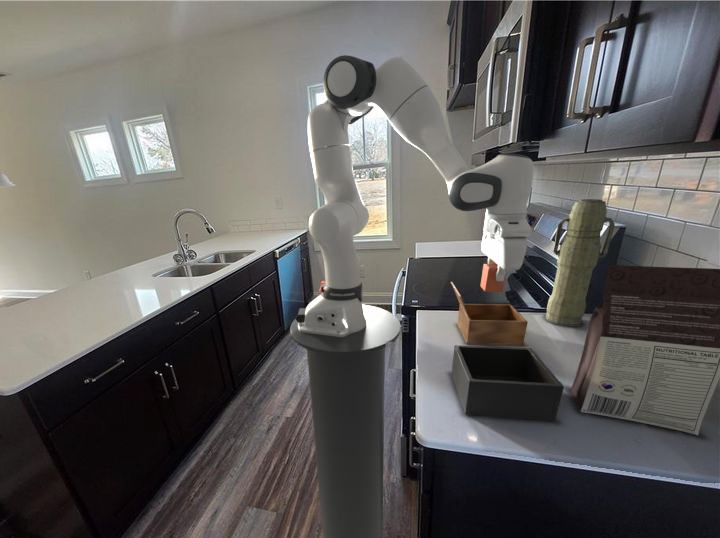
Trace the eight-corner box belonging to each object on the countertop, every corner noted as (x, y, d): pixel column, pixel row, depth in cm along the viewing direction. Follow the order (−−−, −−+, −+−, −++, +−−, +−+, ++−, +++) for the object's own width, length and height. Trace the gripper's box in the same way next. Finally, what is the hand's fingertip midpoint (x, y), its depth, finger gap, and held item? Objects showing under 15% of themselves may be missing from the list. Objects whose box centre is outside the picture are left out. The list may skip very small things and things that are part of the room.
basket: (465, 414, 61) (469, 381, 59) (451, 374, 74) (454, 345, 71) (555, 421, 58) (564, 386, 56) (525, 378, 71) (531, 347, 68)
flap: (470, 318, 84) (468, 318, 84) (460, 301, 95) (459, 302, 95) (461, 296, 82) (459, 296, 82) (452, 281, 93) (450, 282, 93)
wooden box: (466, 343, 86) (469, 320, 84) (457, 324, 97) (459, 303, 95) (523, 345, 84) (527, 321, 81) (507, 325, 95) (510, 304, 92)
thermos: (537, 312, 102) (560, 199, 90) (583, 317, 97) (614, 197, 84) (540, 323, 95) (565, 202, 83) (590, 329, 90) (625, 200, 77)
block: (484, 291, 84) (488, 267, 82) (480, 286, 88) (483, 263, 86) (502, 292, 83) (507, 268, 81) (497, 286, 87) (501, 263, 85)
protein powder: (672, 405, 61) (731, 262, 51) (701, 438, 53) (777, 279, 43) (567, 387, 67) (601, 258, 57) (579, 414, 60) (621, 272, 50)
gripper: (478, 219, 89) (472, 266, 94) (504, 231, 71) (494, 289, 76) (503, 218, 88) (495, 266, 93) (535, 230, 69) (523, 290, 74)
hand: (495, 277), depth 84 cm, fingers closed on block, 4 cm apart
